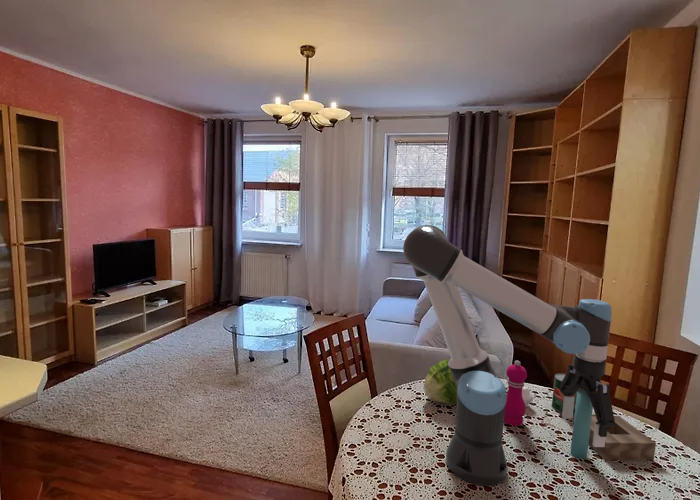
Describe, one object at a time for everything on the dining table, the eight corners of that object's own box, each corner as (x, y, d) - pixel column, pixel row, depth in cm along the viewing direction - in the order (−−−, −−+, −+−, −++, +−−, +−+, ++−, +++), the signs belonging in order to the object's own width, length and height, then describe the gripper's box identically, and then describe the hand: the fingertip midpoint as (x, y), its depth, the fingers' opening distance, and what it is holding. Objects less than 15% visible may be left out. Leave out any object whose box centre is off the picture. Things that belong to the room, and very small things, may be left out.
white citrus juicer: (514, 399, 140) (516, 380, 139) (533, 404, 136) (535, 385, 135) (510, 405, 135) (511, 386, 134) (529, 411, 131) (531, 392, 130)
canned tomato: (553, 411, 132) (556, 380, 131) (550, 401, 139) (553, 371, 138) (579, 417, 129) (583, 385, 128) (575, 406, 136) (578, 375, 135)
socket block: (604, 459, 107) (606, 442, 107) (573, 430, 121) (575, 415, 120) (653, 460, 108) (656, 443, 107) (617, 431, 122) (619, 415, 121)
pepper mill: (526, 428, 121) (533, 366, 119) (502, 425, 122) (507, 363, 120) (521, 416, 128) (527, 357, 126) (498, 413, 129) (503, 355, 127)
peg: (576, 459, 107) (583, 396, 105) (567, 450, 111) (574, 389, 109) (590, 459, 107) (597, 397, 105) (581, 450, 111) (588, 390, 109)
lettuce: (418, 397, 143) (411, 363, 138) (468, 376, 148) (463, 342, 143) (440, 427, 129) (433, 391, 123) (495, 403, 133) (490, 366, 128)
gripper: (639, 377, 93) (628, 460, 96) (575, 341, 118) (568, 408, 121) (608, 377, 93) (599, 460, 95) (550, 340, 118) (544, 407, 120)
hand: (581, 431), depth 108 cm, fingers open, 13 cm apart
